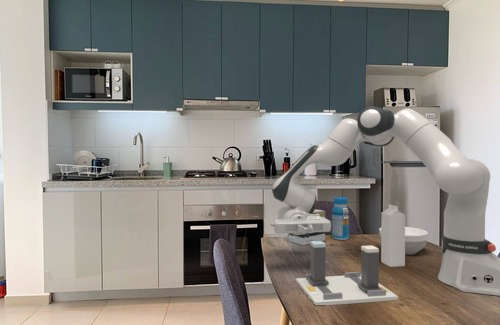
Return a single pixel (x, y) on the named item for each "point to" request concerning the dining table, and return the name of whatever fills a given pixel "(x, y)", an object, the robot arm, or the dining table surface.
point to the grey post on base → (369, 268)
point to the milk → (393, 237)
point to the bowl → (413, 239)
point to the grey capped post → (317, 263)
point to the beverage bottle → (340, 219)
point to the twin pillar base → (343, 291)
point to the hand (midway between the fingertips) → (308, 230)
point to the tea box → (308, 234)
